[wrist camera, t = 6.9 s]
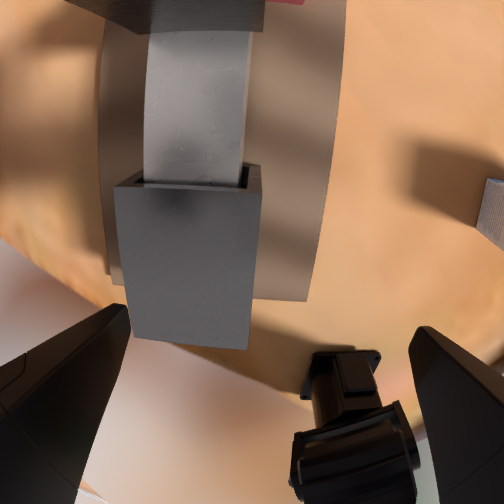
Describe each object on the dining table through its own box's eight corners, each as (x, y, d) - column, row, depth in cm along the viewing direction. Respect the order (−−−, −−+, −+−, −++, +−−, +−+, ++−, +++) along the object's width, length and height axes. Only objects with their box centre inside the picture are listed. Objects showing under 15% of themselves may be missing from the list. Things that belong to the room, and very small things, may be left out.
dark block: (248, 203, 17) (238, 322, 8) (160, 197, 17) (69, 300, 8) (269, -34, 10) (280, -151, 1) (177, -33, 10) (105, -130, 1)
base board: (304, 293, 22) (306, 301, 21) (117, 277, 21) (112, 284, 20) (342, -21, 12) (347, -27, 11) (120, -23, 11) (114, -28, 11)
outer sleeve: (249, 286, 20) (247, 350, 15) (162, 278, 20) (134, 337, 15) (260, 165, 17) (262, 194, 11) (157, 160, 17) (113, 186, 11)
